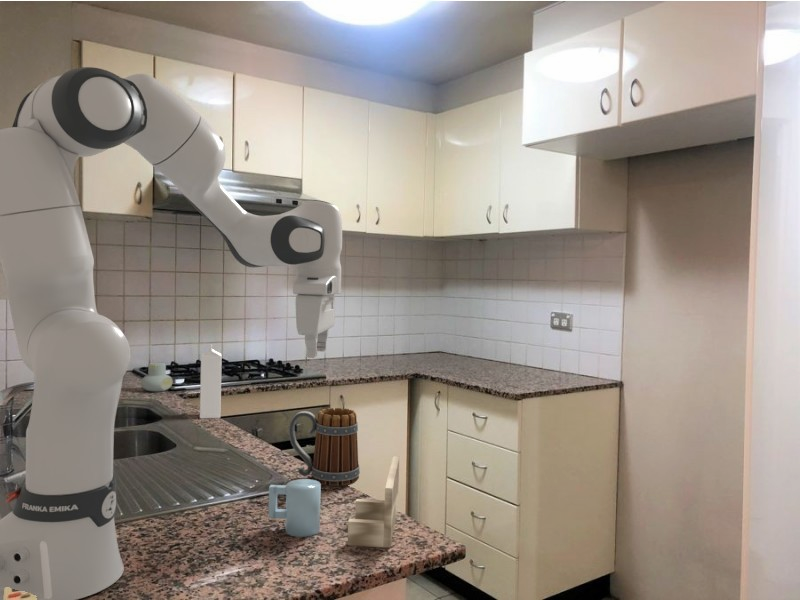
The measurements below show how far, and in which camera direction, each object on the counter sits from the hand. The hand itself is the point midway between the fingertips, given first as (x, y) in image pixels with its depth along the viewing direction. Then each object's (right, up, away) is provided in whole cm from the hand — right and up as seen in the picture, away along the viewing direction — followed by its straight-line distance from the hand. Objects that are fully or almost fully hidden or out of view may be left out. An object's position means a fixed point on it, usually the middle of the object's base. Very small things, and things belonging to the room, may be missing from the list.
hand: (316, 354), depth 121 cm
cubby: (+12, -30, -10) cm, 34 cm away
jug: (-2, -30, -13) cm, 33 cm away
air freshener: (-73, -23, +103) cm, 128 cm away
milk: (-42, -25, +67) cm, 83 cm away
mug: (0, -29, +13) cm, 32 cm away
